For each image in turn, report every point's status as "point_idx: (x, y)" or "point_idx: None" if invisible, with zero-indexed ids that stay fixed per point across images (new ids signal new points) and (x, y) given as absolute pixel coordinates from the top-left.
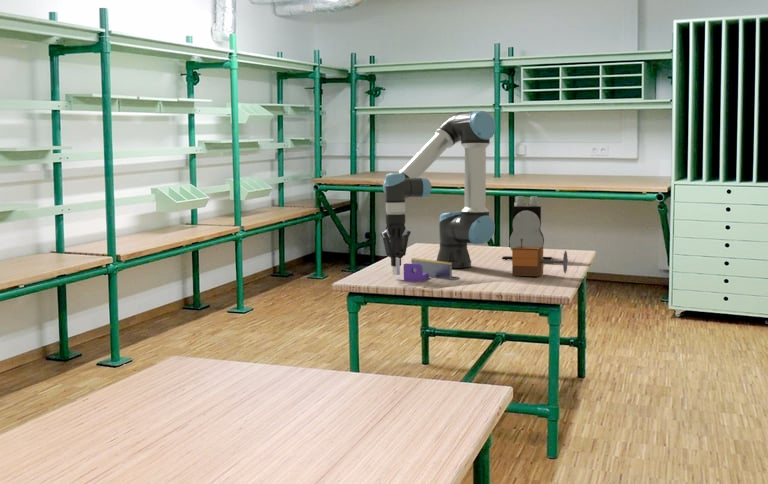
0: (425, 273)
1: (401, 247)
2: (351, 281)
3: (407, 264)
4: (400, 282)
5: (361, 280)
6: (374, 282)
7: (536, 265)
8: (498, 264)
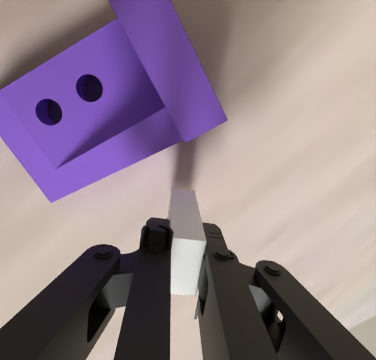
0: (21, 92)
1: (127, 316)
2: (366, 287)
3: (211, 86)
4: (264, 84)
5: (314, 282)
6: (341, 189)
7: None
8: None
